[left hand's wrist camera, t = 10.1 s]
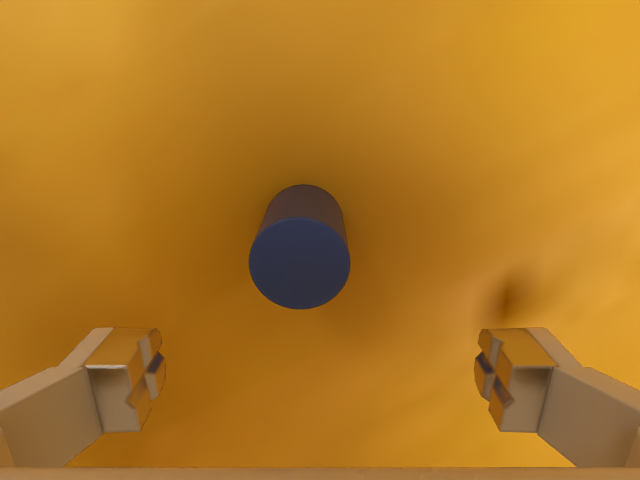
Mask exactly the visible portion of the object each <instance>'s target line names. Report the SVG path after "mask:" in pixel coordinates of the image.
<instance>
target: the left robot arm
mask: <svg viewBox="0 0 640 480" xmlns="http://www.w3.org/2000/svg"><path fill="white" fill-rule="evenodd" d="M161 344H162V340H161V335H160V332H159V331H158V330H157V329H156V328H115V327H105V328H95V329H93V330H92V331H91V332H90V333H89V334H88V335H87V336H86V337H85V338H84V339H83V340H82V341H81V342H80V343H79V344H78V345H77V346H76V347H75V348H74V349H73V351H72V352H71V353H70V354H69V355H68V356H67V357H66V358H65V359H64V360H63V361H62V362H61V363H60V364H59V365H58V366H57V367H49V368H47V369H45V370H43V371H41V372H39V373H37V374H34V375H32V376H30V377H28V378H26V379H24V380H22V381H20V382H17V383H15V384H13V385H11V386H9V387H7V388H5V389H3V390H0V480H640V391H639V390H637V389H635V388H633V387H631V386H629V385H627V384H625V383H623V382H620V381H618V380H616V379H614V378H612V377H610V376H608V375H606V374H603V373H601V372H599V371H597V370H595V369H593V368H591V367H583V366H582V365H581V364H580V363H579V362H578V361H577V360H576V359H575V358H574V357H573V356H572V355H571V354H570V353H569V352H568V350H567V349H566V348H565V347H564V346H563V345H562V344H561V343H560V342H559V341H558V340H557V339H556V338H555V337H554V336H553V335H552V334H551V333H550V332H549V330H548V329H545V328H543V327H534V328H506V329H482V330H481V332H480V334H479V340H478V344H479V346H480V347H481V349H482V352H481V353H480V354H479V355H478V356H477V357H476V358H475V366H474V374H475V382H476V385H477V389H478V391H479V393H480V395H481V396H482V397H483V398H485V399H486V400H488V401H489V402H490V404H489V412H490V414H491V416H492V417H493V419H494V421H495V423H496V425H497V427H498V429H499V431H500V432H529V433H537V435H538V436H540V437H541V438H542V439H543V440H545V441H546V442H547V443H548V444H550V445H551V446H552V447H553V448H554V449H556V450H557V451H558V452H559V453H561V454H562V455H563V456H564V457H566V458H567V459H568V460H569V461H570V462H572V463H573V464H574V465H575V466H577V467H64V466H65V465H66V464H67V463H68V462H70V461H71V460H72V459H73V458H75V457H76V456H77V455H78V454H80V453H81V452H82V451H83V450H84V449H86V448H87V447H88V446H89V445H91V444H92V443H93V442H94V441H96V440H97V439H98V438H99V437H101V436H102V435H103V433H111V432H140V431H141V429H142V427H143V425H144V423H145V421H146V419H147V418H148V416H149V414H150V412H151V404H150V402H151V401H152V400H154V399H155V398H157V397H158V396H159V395H160V393H161V391H162V388H163V385H164V381H165V376H166V365H165V358H164V357H163V356H162V355H161V354H160V353H159V352H158V349H159V347H160V346H161Z"/></svg>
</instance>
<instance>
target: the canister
mask: <svg viewBox="0 0 640 480" xmlns="http://www.w3.org/2000/svg"><path fill="white" fill-rule="evenodd" d="M249 269H250V274H251V277H252V279H253V281H254V283H255V285H256V286H257V288H258V289H259V291H260V292H261V293H262V294H263V295H264V296H265V297H267V298H268V299H269V300H271V301H272V302H274V303H276V304H278V305H280V306H283V307H286V308H291V309H310V308H314V307H318V306H320V305H323V304H325V303H327V302H328V301H330V300H331V299H333V298H334V297H335V296H336V295H337V294H338V293H339V292H340V291H341V290H342V288H343V287H344V285H345V283H346V281H347V279H348V276H349V272H350V255H349V249H348V244H347V238H346V233H345V227H344V221H343V216H342V212H341V209H340V207H339V205H338V203H337V202H336V200H335V199H334V198H333V197H332V196H331V195H330V194H329V193H328V192H326V191H325V190H323V189H321V188H318V187H316V186H312V185H296V186H292V187H289V188H286V189H285V190H283V191H281V192H280V193H279V194H277V195H276V196H275V197H274V199H273V200H272V201H271V203H270V205H269V206H268V209H267V211H266V214H265V216H264V218H263V221H262V223H261V226H260V228H259V230H258V233H257V235H256V237H255V240H254V242H253V245H252V247H251V250H250V254H249Z"/></svg>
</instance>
